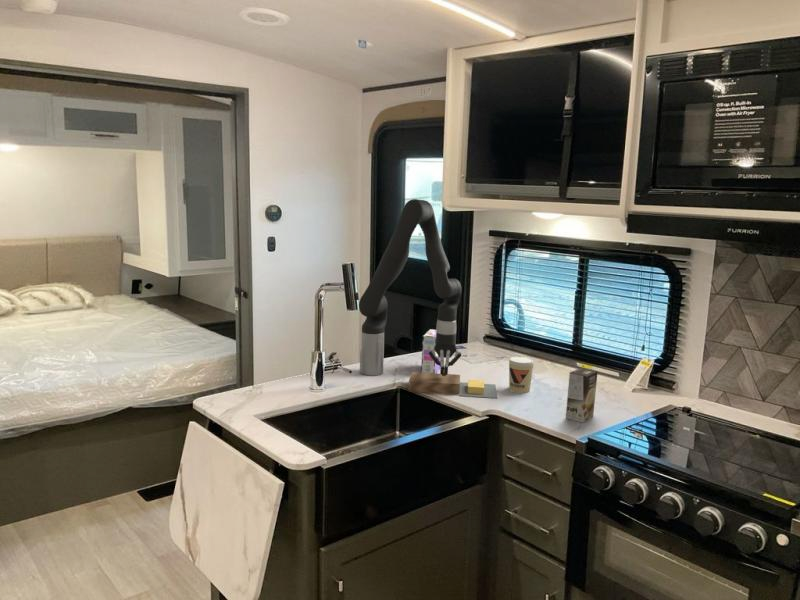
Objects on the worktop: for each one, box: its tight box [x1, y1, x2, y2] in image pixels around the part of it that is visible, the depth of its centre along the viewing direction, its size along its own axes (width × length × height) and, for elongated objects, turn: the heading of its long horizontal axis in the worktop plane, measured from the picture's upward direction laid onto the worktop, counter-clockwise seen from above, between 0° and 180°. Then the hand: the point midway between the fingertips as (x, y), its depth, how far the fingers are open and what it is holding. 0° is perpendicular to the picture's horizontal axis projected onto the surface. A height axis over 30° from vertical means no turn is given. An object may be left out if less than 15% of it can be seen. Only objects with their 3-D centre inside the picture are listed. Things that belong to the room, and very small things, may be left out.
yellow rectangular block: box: [467, 379, 485, 394], centre depth 234 cm, size 6×9×2 cm, turn 174°
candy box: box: [420, 328, 441, 373], centre depth 258 cm, size 14×6×16 cm, turn 165°
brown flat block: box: [408, 371, 461, 395], centre depth 236 cm, size 19×12×4 cm, turn 84°
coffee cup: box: [508, 356, 535, 394], centre depth 236 cm, size 9×9×12 cm
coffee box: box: [565, 367, 598, 423], centre depth 208 cm, size 9×6×16 cm
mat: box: [458, 381, 499, 400], centre depth 235 cm, size 14×16×1 cm
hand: (443, 375), depth 235 cm, fingers closed
